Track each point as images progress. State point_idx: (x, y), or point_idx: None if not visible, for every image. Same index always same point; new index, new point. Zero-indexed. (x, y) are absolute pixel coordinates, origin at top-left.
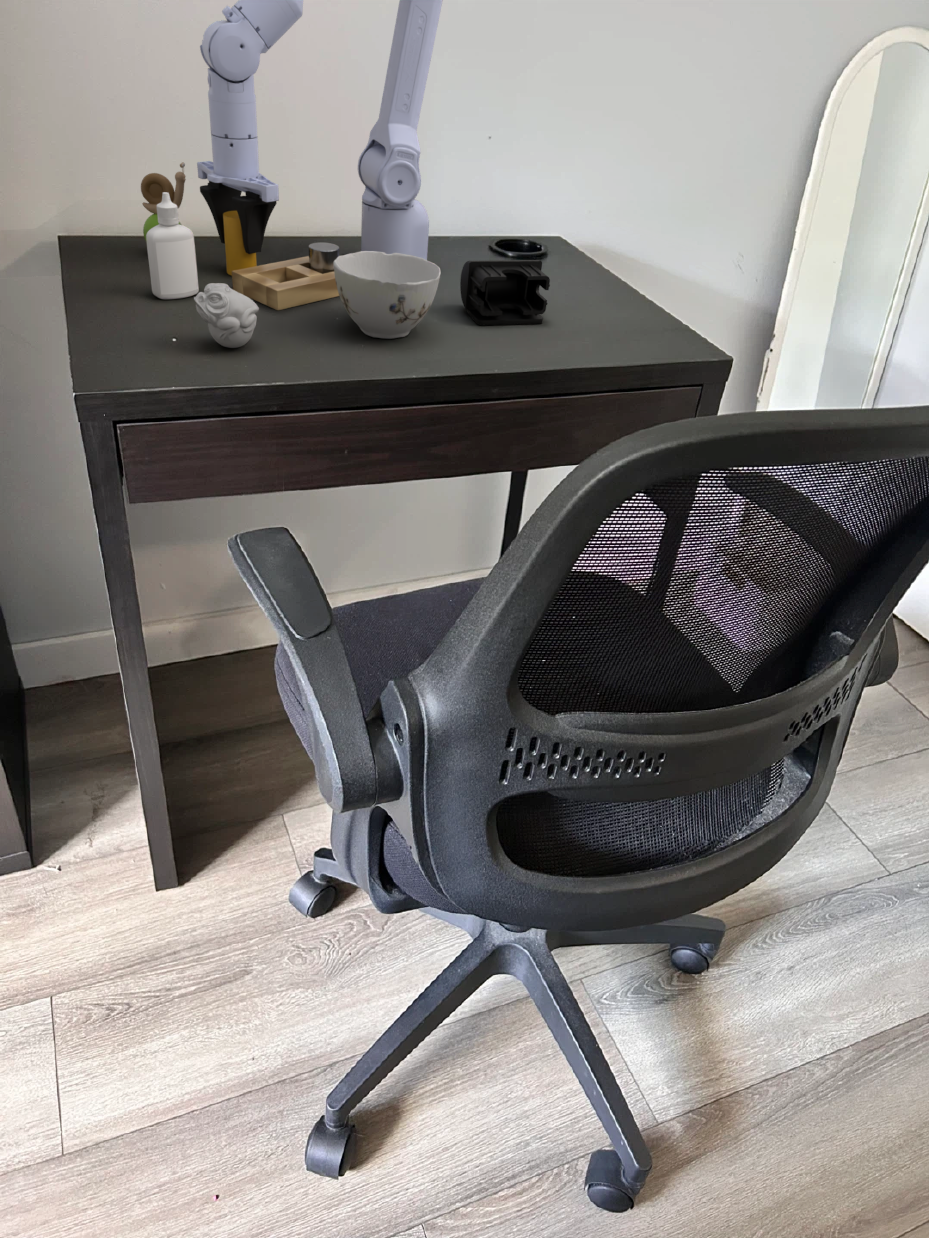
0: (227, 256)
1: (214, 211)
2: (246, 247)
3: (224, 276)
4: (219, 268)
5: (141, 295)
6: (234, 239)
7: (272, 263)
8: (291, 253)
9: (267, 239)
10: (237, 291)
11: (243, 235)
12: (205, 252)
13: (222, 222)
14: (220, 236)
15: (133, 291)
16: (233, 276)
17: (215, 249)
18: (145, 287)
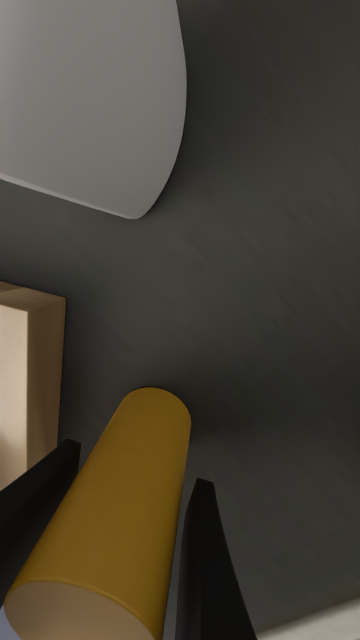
0: (155, 423)
1: (216, 638)
2: (56, 452)
3: (165, 374)
4: (220, 415)
5: (219, 27)
6: (96, 473)
7: (21, 439)
8: (176, 567)
9: (277, 615)
10: (44, 293)
11: (29, 489)
12: (337, 493)
13: (195, 571)
14: (207, 500)
15: (274, 36)
16: (30, 305)
17: (330, 521)
18: (269, 116)
